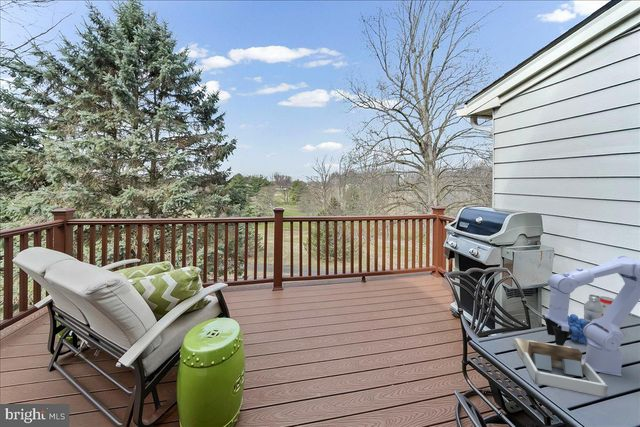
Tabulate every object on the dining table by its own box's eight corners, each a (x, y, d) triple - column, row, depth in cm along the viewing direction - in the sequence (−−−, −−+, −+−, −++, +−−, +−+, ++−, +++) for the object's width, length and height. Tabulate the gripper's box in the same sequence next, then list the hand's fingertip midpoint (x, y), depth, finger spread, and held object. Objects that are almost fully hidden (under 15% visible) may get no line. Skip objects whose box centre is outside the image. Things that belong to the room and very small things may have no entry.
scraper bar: (577, 360, 112) (578, 349, 112) (580, 364, 110) (582, 353, 109) (527, 351, 118) (529, 341, 117) (530, 356, 115) (531, 345, 114)
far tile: (548, 355, 113) (550, 356, 111) (549, 369, 111) (551, 370, 109) (533, 353, 114) (535, 353, 113) (534, 367, 113) (535, 367, 111)
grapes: (555, 338, 134) (558, 313, 132) (560, 333, 138) (563, 309, 136) (589, 350, 124) (592, 323, 123) (593, 345, 128) (596, 319, 127)
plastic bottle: (575, 334, 137) (580, 293, 134) (589, 334, 137) (594, 293, 135) (589, 342, 130) (595, 299, 128) (603, 341, 131) (609, 298, 128)
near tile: (577, 361, 110) (580, 361, 108) (580, 376, 108) (582, 376, 106) (561, 358, 111) (563, 358, 110) (563, 373, 109) (566, 373, 108)
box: (586, 373, 109) (587, 363, 109) (606, 397, 97) (607, 386, 97) (523, 361, 116) (524, 352, 116) (534, 382, 104) (535, 372, 104)
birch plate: (570, 353, 122) (570, 346, 121) (586, 373, 109) (587, 365, 109) (514, 344, 128) (514, 337, 128) (523, 361, 116) (524, 354, 116)
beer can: (616, 334, 137) (620, 301, 135) (600, 333, 138) (604, 300, 136) (606, 327, 143) (610, 296, 141) (591, 326, 144) (595, 295, 142)
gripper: (539, 297, 120) (536, 328, 121) (554, 312, 106) (550, 347, 108) (560, 299, 117) (556, 331, 119) (578, 315, 104) (573, 351, 105)
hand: (555, 339), depth 113 cm, fingers open, 7 cm apart
